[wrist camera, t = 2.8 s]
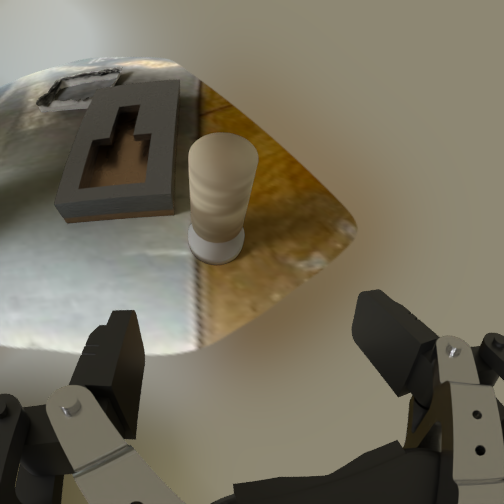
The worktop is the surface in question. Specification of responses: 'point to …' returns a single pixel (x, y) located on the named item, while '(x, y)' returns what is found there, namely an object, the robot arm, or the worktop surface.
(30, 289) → the worktop surface
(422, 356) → the robot arm
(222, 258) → the keyhole peg
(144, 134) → the keyhole board
